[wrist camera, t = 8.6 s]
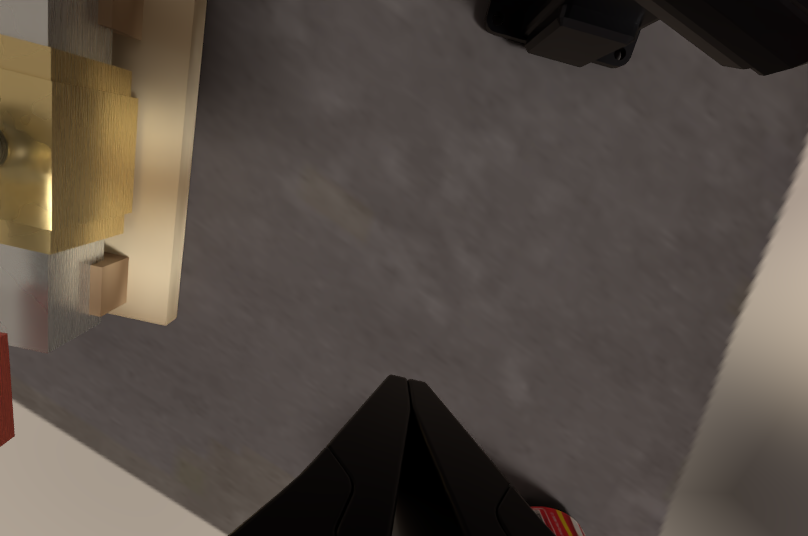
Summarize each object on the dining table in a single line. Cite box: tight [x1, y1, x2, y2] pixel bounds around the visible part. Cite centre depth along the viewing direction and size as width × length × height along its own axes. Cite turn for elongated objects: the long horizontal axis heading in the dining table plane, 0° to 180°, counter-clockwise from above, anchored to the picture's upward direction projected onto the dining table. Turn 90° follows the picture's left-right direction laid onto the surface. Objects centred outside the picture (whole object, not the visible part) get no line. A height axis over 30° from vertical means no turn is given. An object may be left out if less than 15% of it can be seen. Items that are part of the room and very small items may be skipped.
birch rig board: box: [89, 0, 207, 326], centre depth 18 cm, size 16×8×3 cm, turn 166°
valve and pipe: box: [0, 0, 139, 353], centre depth 15 cm, size 16×4×5 cm, turn 166°
